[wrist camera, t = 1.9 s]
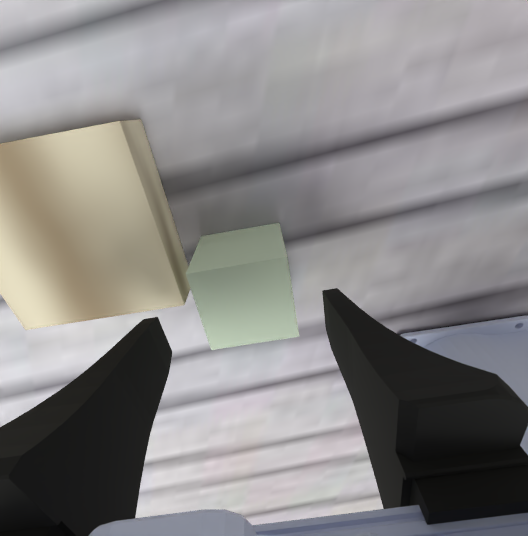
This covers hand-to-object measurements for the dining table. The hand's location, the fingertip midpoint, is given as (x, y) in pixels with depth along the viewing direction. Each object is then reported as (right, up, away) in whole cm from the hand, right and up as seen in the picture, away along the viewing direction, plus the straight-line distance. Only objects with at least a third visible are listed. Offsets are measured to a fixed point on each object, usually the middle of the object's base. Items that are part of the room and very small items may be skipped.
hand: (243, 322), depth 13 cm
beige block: (-9, +5, +4) cm, 11 cm away
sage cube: (0, +3, +5) cm, 6 cm away
